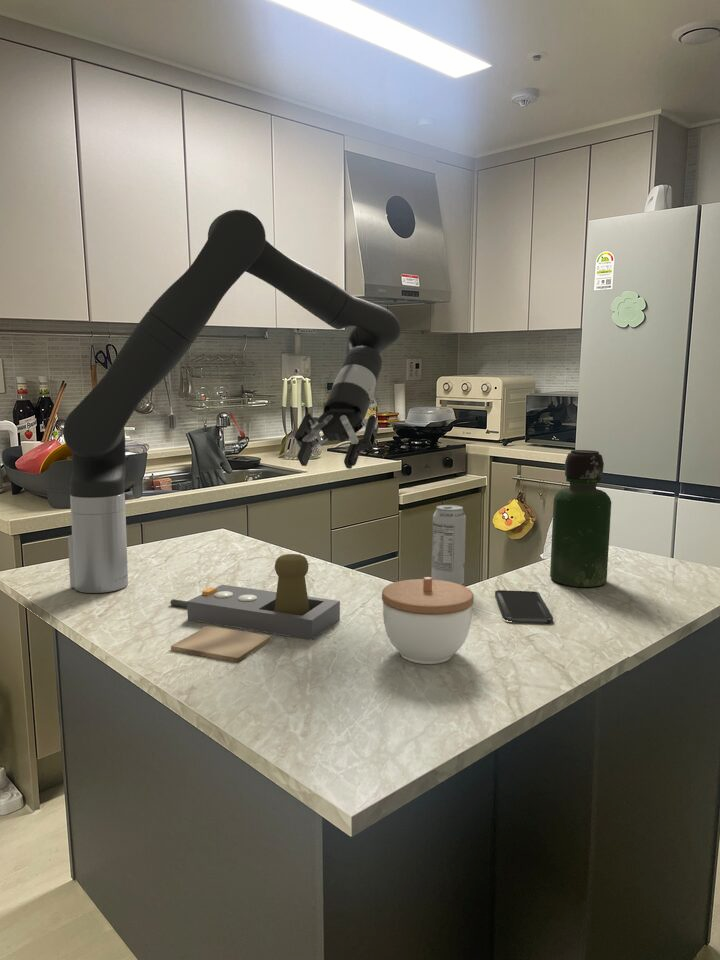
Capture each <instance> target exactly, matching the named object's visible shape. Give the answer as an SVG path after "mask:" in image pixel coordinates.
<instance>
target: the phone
mask: <svg viewBox="0 0 720 960" xmlns="http://www.w3.org/2000/svg"><path fill="white" fill-rule="evenodd" d="M494 597H495V600H496V603H497V606H498V608H499V611H500V614H501V617H502V619H503V618H504V619H505V620H508V621H512V622H515V623H514V624H533V625H534V624H535V625H536V624H539V625H550V624H553V623H554V622H553V621H554V616H553V614H552V613H551V611H550V610H549V608H548V606H547V604H546V602H545V601H544V599H543V597H542V595H541V593H539V592H538V591H534V590H533V591H531V590H530V591H529V590H507V589H506V590H505V589H504V590H503V589H502V590H501V589H500V590H499V589H498V590H495V591H494Z"/></svg>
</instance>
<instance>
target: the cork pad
mask: <svg viewBox="0 0 720 960" xmlns="http://www.w3.org/2000/svg"><path fill="white" fill-rule="evenodd" d="M270 641H272V636H271V635H266V634H261V633H254V632H249V631H241V630H236V629H235V630H234V629H229V628H224V627H220V626H219V627H218V626H211V625H206V626H205V627H202V628H201V629H198V631H195V632H194V633H192V634H190V635H188V636H186V637H184V638H183V639H181V640H179V641H178V642H176V643H174V644H172V645H171V646H170V650H171V651H175V652H180V653H186V654H191V655H195V656H201V657H207V658H213V659H218V660H224V661H229V662H234V663H239V662H241V661H242V660H244V659H245V658H247V657H248V656H250V655H251V654H252V653H254V652H255V651H257V650H258V649H260V648H262V647H263V646H264V645H266V644H268V643H269V642H270Z"/></svg>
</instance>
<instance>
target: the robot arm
mask: <svg viewBox="0 0 720 960" xmlns="http://www.w3.org/2000/svg"><path fill="white" fill-rule="evenodd" d="M266 237H267V236H266V229H265V226H264V224H263V222H262V220H261V219H260V218H259V217H258V216H257V215H256V214H255V213H252V211H251V212H250V211H249V210H245V209H232V210H231V209H230V210H228V211H226V212H224V213H222V214H220V215H219V216H217V217H216V218H215V219H213V221H212V222H211V223H210V225H209V227H208V231H207V240H206V242H205V244H204V245H203V247H202V248H201V250H200V252H199V253H198V254H197V256H196V258H195V260H194V261H193V262H192V264H191V265H190V266H189V267H188V268H187V270H186V271H185V272H184V273H183V274H182V275H181V276H180V277H179V278H178V279H176V280H175V282H173V283H172V284H171V285H170V286H169V287H168V288H167V289H165V291H164V292H163V293H162V294H161V295H160V296H159V297H158V298H157V299H156V301H154V303H153V304H151V306H150V308H149V309H148V311H147V312H146V313H145V314H144V315H143V317H142V318H141V320H140V321H139V322H138V324H137V325H136V327H134V330H132V332H131V334H130V336H129V337H127V340H126V341H125V342H124V344H123V345H122V347H121V348H120V350H119V352H118V353H117V355H116V357H115V358H114V360H113V362H112V363H111V365H110V367H109V368H108V370H107V372H106V373H105V374H104V376H103V377H102V378H101V379H100V381H99V382H98V383H97V384H96V385H95V386H94V387H93V388H92V390H91V391H89V393H88V394H87V395H86V396H85V397H84V398H83V399H82V400H81V401H80V402H79V403H78V404H77V405H76V407H74V409H72V410H71V412H70V413H69V414H68V415H67V416H66V419H65V420H64V424H63V429H62V434H63V440H64V442H65V445H66V446H67V448H68V449H69V450H70V451H71V455H72V456H71V457H72V468H71V474H70V479H69V497H70V498H69V500H70V501H69V502H70V517H71V519H70V521H71V534H70V535H68V537H67V542H68V543H67V545H68V549H67V550H68V565H69V583H70V584H69V585H70V586H69V587H70V588H73V589H75V591H77V592H81V593H85V594H102V593H110V592H114V591H118V590H122V589H124V588H126V587H127V586H128V585H129V571H128V567H129V566H128V545H127V543H128V541H127V540H128V539H127V519H126V495H125V491H126V490H125V481H126V475H127V473H126V472H127V470H126V469H127V468H126V467H127V465H126V462H127V460H126V459H127V458H126V433H125V432H126V431H125V430H126V429H125V426H126V424H127V423H128V421H129V419H130V418H131V416H132V415H133V413H134V412H135V410H137V407H138V406H139V405H140V403H141V402H142V401H143V399H144V398H145V397H146V396H148V394H149V393H150V392H151V391H152V390H154V388H155V387H157V385H159V384H160V383H161V382H162V381H163V380H164V379H165V378H166V377H167V376H168V374H170V372H172V371H173V369H174V368H175V367H176V366H177V365H178V363H180V361H181V360H182V359H183V357H184V356H185V355H186V353H187V352H188V350H189V349H190V348H191V347H192V345H193V344H194V342H195V341H196V340H197V338H198V336H199V335H200V334H201V332H202V331H203V329H204V328H205V327H206V325H207V324H208V322H209V320H210V318H211V317H212V316H213V314H214V312H215V311H216V309H217V307H218V305H219V304H220V302H221V300H223V298H224V296H225V295H226V294H227V292H228V291H229V290H230V289H231V288H232V286H234V284H235V283H236V282H237V281H238V280H239V279H240V278H241V276H243V274H244V273H245V272H246V273H248V274H250V275H252V276H254V277H256V278H258V279H260V280H261V281H263V282H265V283H266V284H268V285H269V286H272V288H275V289H276V290H278V291H279V292H280V293H281V294H283V295H284V296H287V297H288V298H289V299H291V300H292V301H293V302H295V303H296V304H298V305H299V306H301V307H302V308H303V309H305V310H306V311H308V312H310V313H311V314H312V315H313V316H314V317H317V318H318V319H320V320H321V321H323V322H324V323H325V324H327V325H328V326H329V327H331V328H332V329H336V330H342V329H345V328H348V327H354V328H353V329H351V330H352V331H351V332H350V333H349V337H348V338H347V339H348V340H347V344H346V357H345V358H344V362H343V364H342V366H341V369H340V371H339V372H338V374H337V376H336V377H335V380H334V382H333V384H332V387H331V390H330V392H329V394H328V397H327V399H326V401H325V405H324V408H323V412H322V413H321V415H320V416H319V417H317V416H316V417H314V416H312V414H311V413H306V414H305V415H304V416H303V418H302V420H301V421H300V424H299V427H298V428H297V430H296V432H295V434H294V439H295V441H296V444H298V447H300V449H299V450H298V453H297V456H296V457H297V460H298V461H299V463H300V465H301V466H302V467H307V466H308V464H309V461H310V458H311V456H312V453H313V450H314V449H315V448H316V447H317V446H319V445H320V446H322V445H324V444H325V443H326V442H328V441H331V442H334V441H339V442H345V441H347V440H349V441H350V444H349V446H348V448H347V451H346V455H345V457H344V459H343V460H344V461H343V464H344V466H345V467H346V469H348V470H351V469H353V467H354V466H355V465H356V464H357V462H358V459H359V457H360V453H362V452H363V451H364V450H367V451H368V452H369V451H372V450H374V445H375V442H376V438H377V436H378V435H377V434H378V431H379V428H380V425H379V423H378V420H377V417H376V416H375V415H374V414H373V415H369V417H368V418H366V416H367V413H368V411H369V407H370V405H371V402H372V400H373V396H374V394H375V389H376V384H377V381H378V379H379V376H380V373H381V369H382V367H383V364H382V363H383V360H382V356H381V355H380V353H381V352H383V351H384V350H386V349H387V348H388V347H390V346H391V345H392V344H394V343H395V342H396V341H397V340H398V339H399V337H400V335H401V329H402V328H401V325H400V322H399V320H398V318H397V317H396V316H395V315H394V313H393V312H391V311H390V310H389V309H387V308H386V307H383V306H381V305H379V304H376V303H373V302H370V301H367V300H365V299H362V298H360V297H356V296H353V295H352V294H350V292H347V291H346V290H345V289H344V288H342V287H341V286H339V285H338V284H336V283H335V282H334V281H332V280H330V278H327V277H325V276H324V275H322V274H320V273H318V272H317V271H316V270H313V269H312V268H310V267H308V266H306V265H304V264H302V263H300V262H298V260H297V261H296V260H294V259H293V258H292V257H290V256H288V254H287V255H286V254H285V253H283V251H281V250H280V249H278V248H276V247H275V246H274V245H273V244H272V243H271V242H270V241H268V240H267V238H266ZM363 428H364V429H365V430H364V433H363V437H362V439H359V438H358V436H357V433H358V432H359V431H361V430H362V429H363ZM320 432H322V434H323V435H321V434H320Z"/></svg>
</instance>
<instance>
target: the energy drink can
mask: <svg viewBox="0 0 720 960" xmlns="http://www.w3.org/2000/svg"><path fill="white" fill-rule="evenodd" d="M466 524H467V516H466V514H465V511H464V507H463V506H461V505H456V504H441V505H436V509H435V511H434V513H433V514H432V532H431V533H432V537H431V538H432V539H431V540H432V541H431V576H430V577H431V578H432V580H442V581H448V582H453V583H456V584H460V585H462V586H463V584H464V583H465V560H466V558H465V557H466Z"/></svg>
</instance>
